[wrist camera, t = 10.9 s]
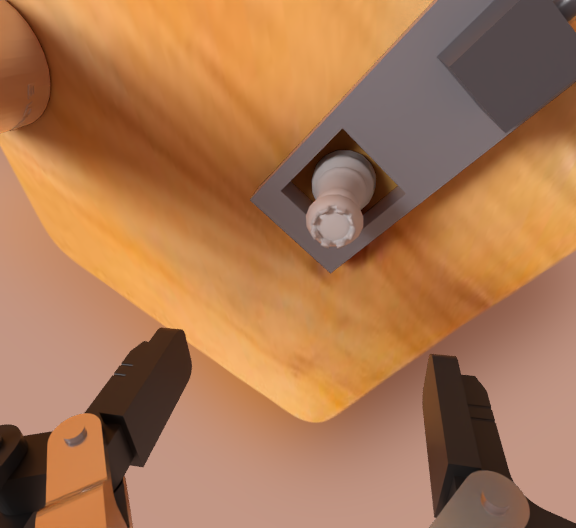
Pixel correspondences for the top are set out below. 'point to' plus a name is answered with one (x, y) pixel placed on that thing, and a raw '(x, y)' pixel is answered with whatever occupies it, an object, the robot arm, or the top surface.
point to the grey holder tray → (435, 106)
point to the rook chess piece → (340, 197)
